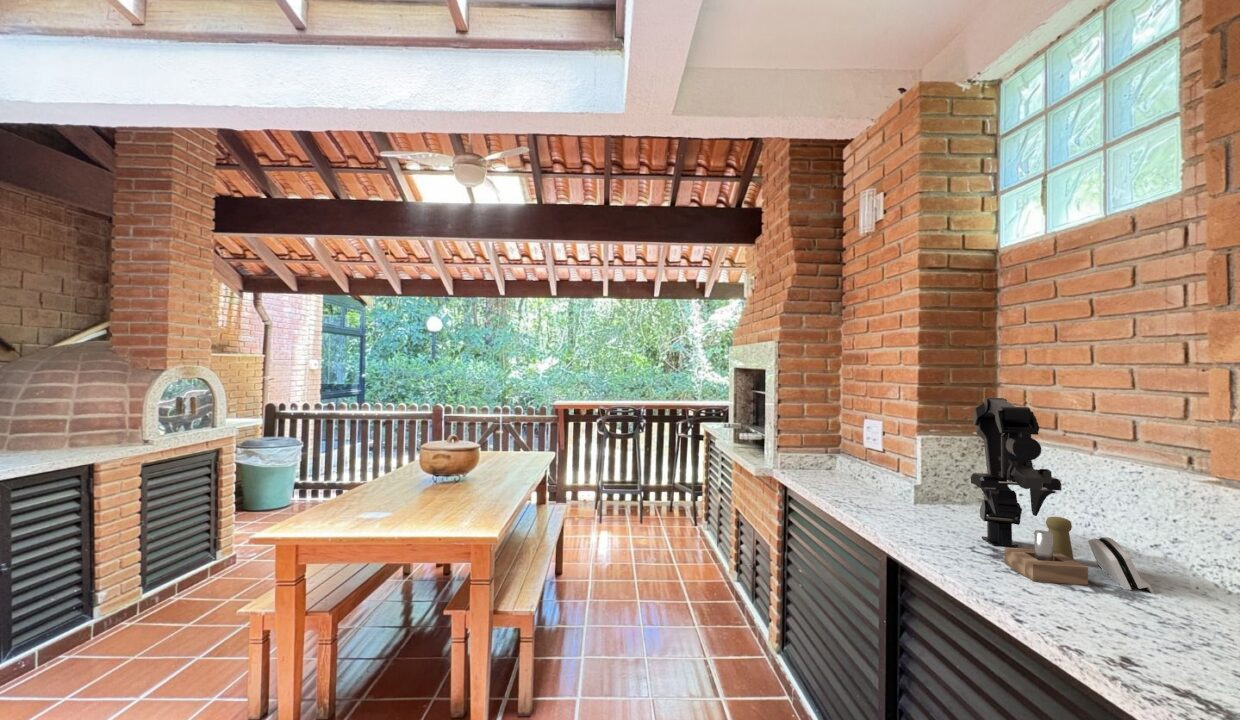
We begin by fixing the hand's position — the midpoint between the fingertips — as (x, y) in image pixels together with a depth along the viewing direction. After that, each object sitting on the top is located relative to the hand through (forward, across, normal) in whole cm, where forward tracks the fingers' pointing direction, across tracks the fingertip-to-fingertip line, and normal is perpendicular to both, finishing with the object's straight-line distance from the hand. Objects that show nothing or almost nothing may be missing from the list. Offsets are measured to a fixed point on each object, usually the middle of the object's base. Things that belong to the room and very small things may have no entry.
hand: (1015, 514), depth 135 cm
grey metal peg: (+12, +2, -8) cm, 15 cm away
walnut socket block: (+12, +2, -8) cm, 15 cm away
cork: (+12, +12, +3) cm, 17 cm away
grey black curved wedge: (+12, +18, -8) cm, 23 cm away
